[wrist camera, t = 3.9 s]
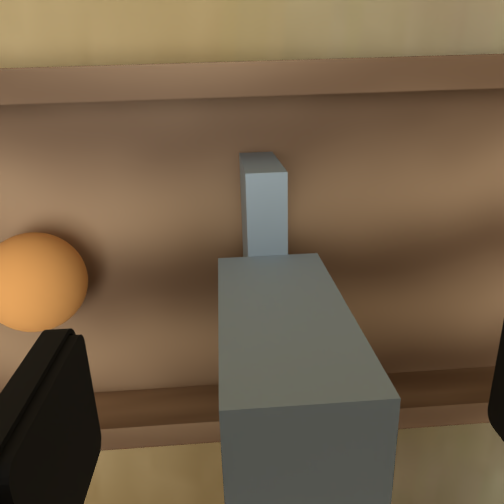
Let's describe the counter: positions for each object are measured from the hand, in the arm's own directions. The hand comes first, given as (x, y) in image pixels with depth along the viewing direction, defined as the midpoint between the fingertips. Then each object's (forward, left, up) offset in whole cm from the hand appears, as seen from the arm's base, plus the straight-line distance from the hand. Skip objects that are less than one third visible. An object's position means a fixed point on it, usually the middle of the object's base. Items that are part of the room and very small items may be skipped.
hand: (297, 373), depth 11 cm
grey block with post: (0, 0, -8) cm, 8 cm away
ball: (0, +8, -9) cm, 12 cm away
